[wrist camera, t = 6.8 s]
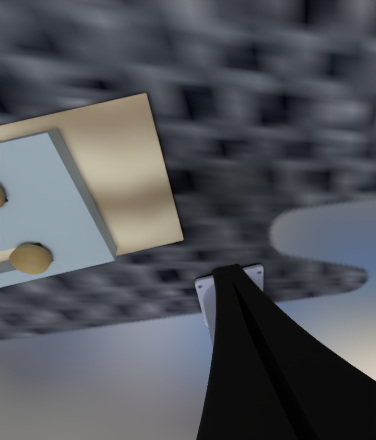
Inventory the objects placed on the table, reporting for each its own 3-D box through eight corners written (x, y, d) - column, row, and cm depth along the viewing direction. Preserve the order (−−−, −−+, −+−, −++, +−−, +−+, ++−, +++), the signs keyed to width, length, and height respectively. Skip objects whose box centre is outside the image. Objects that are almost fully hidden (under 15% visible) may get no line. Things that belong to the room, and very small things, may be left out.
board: (182, 233, 21) (186, 257, 18) (-20, 280, 20) (-48, 312, 18) (146, 92, 14) (144, 94, 11) (-154, 159, 14) (-234, 179, 11)
